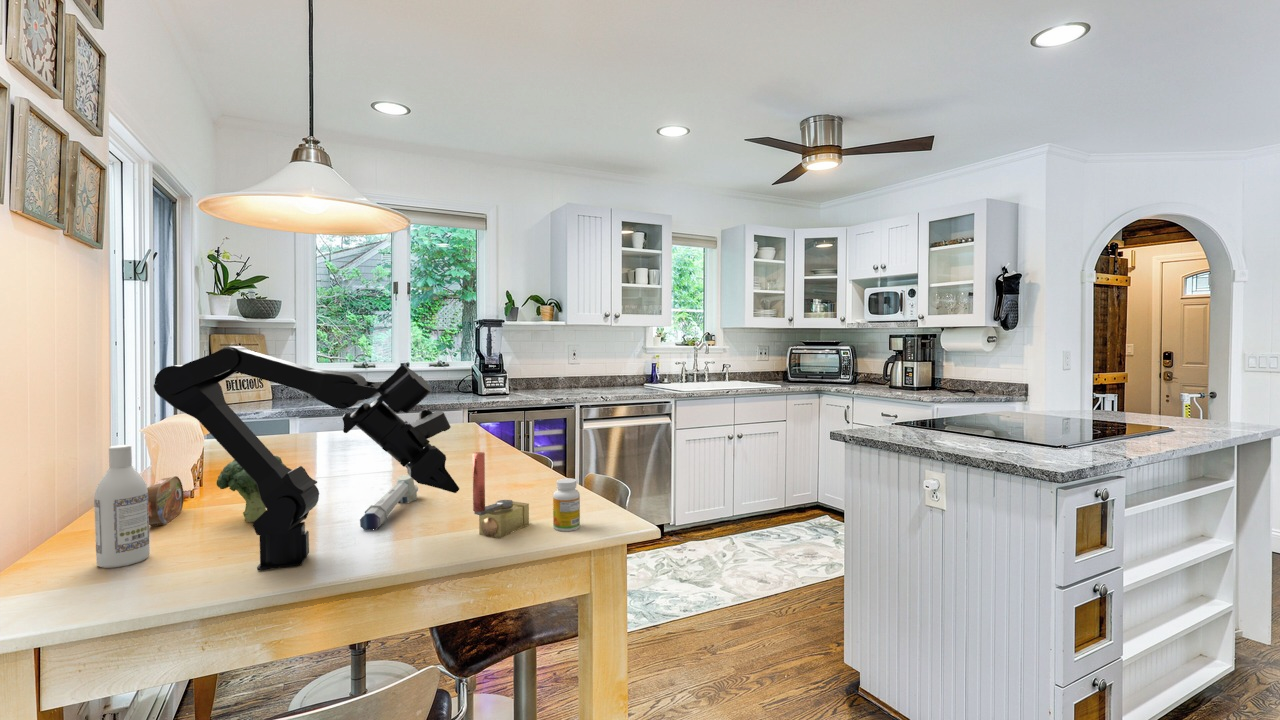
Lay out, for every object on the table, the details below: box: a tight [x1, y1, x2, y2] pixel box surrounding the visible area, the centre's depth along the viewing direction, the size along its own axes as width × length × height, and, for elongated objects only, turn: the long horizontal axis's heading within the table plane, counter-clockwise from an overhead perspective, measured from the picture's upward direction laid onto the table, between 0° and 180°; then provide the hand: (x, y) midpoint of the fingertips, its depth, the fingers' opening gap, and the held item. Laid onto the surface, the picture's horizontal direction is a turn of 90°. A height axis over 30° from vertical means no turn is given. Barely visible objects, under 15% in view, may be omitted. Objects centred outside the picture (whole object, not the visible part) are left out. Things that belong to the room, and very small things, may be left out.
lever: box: [472, 451, 513, 516], centre depth 117 cm, size 9×3×12 cm, turn 146°
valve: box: [478, 500, 530, 539], centre depth 119 cm, size 10×5×4 cm, turn 155°
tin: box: [147, 476, 184, 527], centre depth 126 cm, size 15×3×8 cm, turn 22°
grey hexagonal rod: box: [359, 473, 419, 531], centre depth 131 cm, size 5×7×25 cm
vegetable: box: [216, 455, 287, 523], centre depth 125 cm, size 12×13×15 cm
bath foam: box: [93, 444, 151, 569], centre depth 102 cm, size 7×7×20 cm
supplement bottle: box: [552, 477, 581, 532], centre depth 121 cm, size 5×5×10 cm
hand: (451, 485), depth 111 cm, fingers open, 9 cm apart
